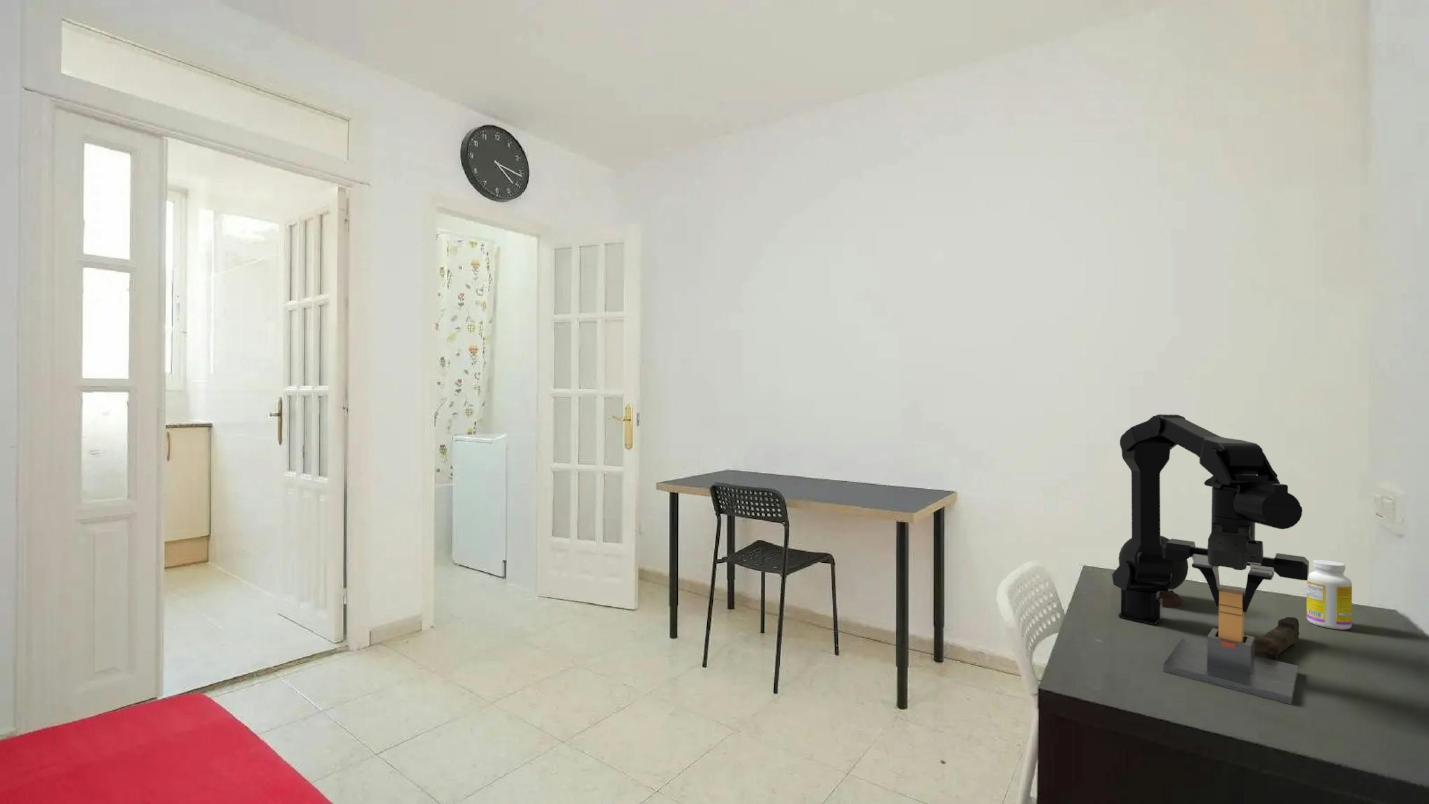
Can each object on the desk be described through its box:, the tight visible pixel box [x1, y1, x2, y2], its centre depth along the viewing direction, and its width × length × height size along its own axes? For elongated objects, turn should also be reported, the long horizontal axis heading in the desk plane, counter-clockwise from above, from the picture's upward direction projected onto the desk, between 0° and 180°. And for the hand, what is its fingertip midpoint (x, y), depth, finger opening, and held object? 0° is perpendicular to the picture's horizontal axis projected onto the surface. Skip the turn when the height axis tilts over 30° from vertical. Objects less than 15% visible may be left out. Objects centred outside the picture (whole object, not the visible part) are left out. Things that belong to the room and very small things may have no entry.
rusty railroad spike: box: [1254, 616, 1300, 661], centre depth 117 cm, size 19×4×5 cm, turn 122°
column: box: [1218, 587, 1245, 643], centre depth 106 cm, size 3×3×10 cm
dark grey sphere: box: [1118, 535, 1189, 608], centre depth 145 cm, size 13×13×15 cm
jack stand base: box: [1162, 627, 1299, 705], centre depth 107 cm, size 16×16×6 cm
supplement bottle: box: [1306, 559, 1353, 631], centre depth 130 cm, size 7×7×13 cm
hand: (1231, 608), depth 106 cm, fingers closed on column, 3 cm apart
